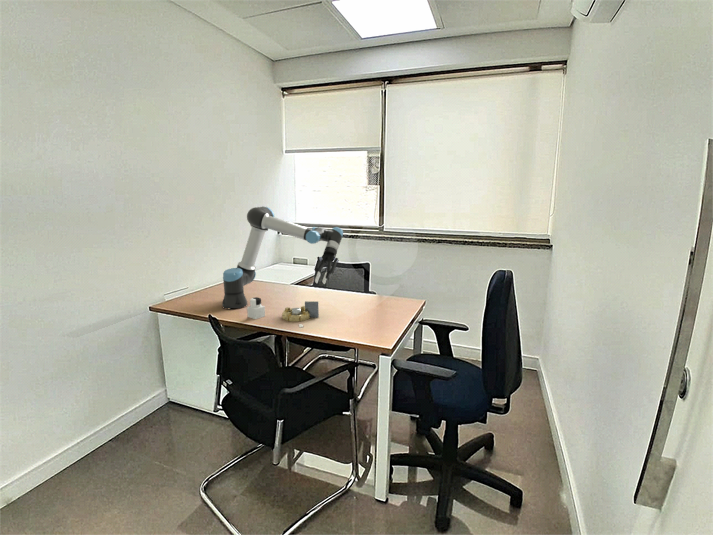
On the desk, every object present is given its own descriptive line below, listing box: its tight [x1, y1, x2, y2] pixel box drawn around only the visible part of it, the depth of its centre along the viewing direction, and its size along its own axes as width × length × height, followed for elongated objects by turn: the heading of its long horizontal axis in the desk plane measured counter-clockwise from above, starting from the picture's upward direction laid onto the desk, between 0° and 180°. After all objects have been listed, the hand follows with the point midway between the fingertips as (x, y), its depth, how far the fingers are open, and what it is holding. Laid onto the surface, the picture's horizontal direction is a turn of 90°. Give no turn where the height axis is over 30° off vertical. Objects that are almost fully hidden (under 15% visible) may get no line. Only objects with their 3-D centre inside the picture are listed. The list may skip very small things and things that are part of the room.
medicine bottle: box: [246, 296, 266, 320], centre depth 213 cm, size 7×7×12 cm
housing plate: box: [292, 307, 301, 315], centre depth 212 cm, size 20×20×6 cm
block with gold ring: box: [281, 300, 320, 323], centre depth 212 cm, size 20×15×9 cm
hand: (319, 282), depth 214 cm, fingers open, 4 cm apart
